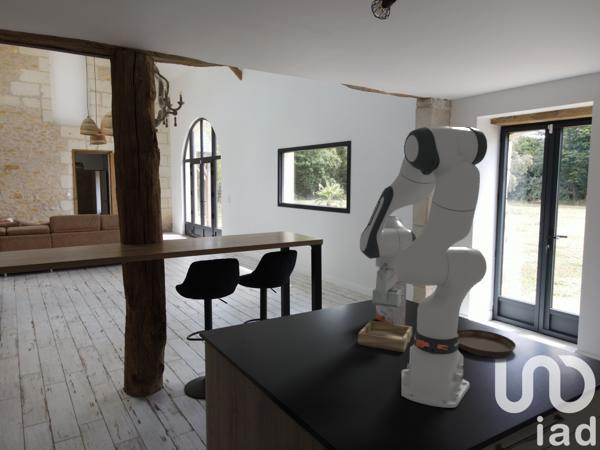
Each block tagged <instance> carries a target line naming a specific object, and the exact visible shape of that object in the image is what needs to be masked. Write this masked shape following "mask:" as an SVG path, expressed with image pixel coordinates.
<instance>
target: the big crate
mask: <svg viewBox="0 0 600 450" xmlns="http://www.w3.org/2000/svg"><path fill="white" fill-rule="evenodd" d="M412 337H413V326H410V325H405V326H404V325H398V324H391V323H384V322H381V321H378V320H377V321H376V320H369V321H368V322H367V323H366V324H365V326H364V327H362V329H360V331H359V332H358V334H357V345H361V346H364V347H365V346H366V347H372V348H375V349H376V348H377V349H383V350H388V351H395V352H400V353H405V352H406V351H405V350H406V349H407V347H408V345H409V344H410V341H411V340H412ZM408 343H409V344H408Z"/></svg>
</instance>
